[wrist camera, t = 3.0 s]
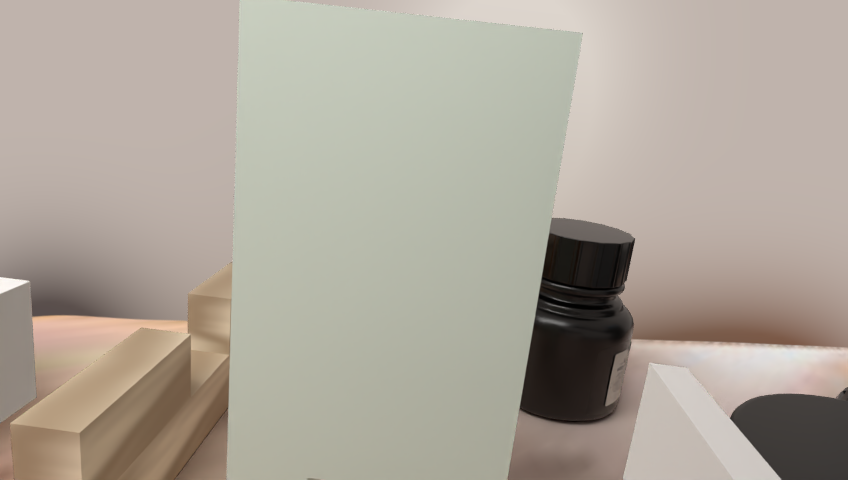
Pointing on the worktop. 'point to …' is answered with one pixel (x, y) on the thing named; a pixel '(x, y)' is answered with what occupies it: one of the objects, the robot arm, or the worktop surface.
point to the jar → (798, 434)
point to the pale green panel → (388, 239)
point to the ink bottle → (580, 323)
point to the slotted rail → (135, 402)
